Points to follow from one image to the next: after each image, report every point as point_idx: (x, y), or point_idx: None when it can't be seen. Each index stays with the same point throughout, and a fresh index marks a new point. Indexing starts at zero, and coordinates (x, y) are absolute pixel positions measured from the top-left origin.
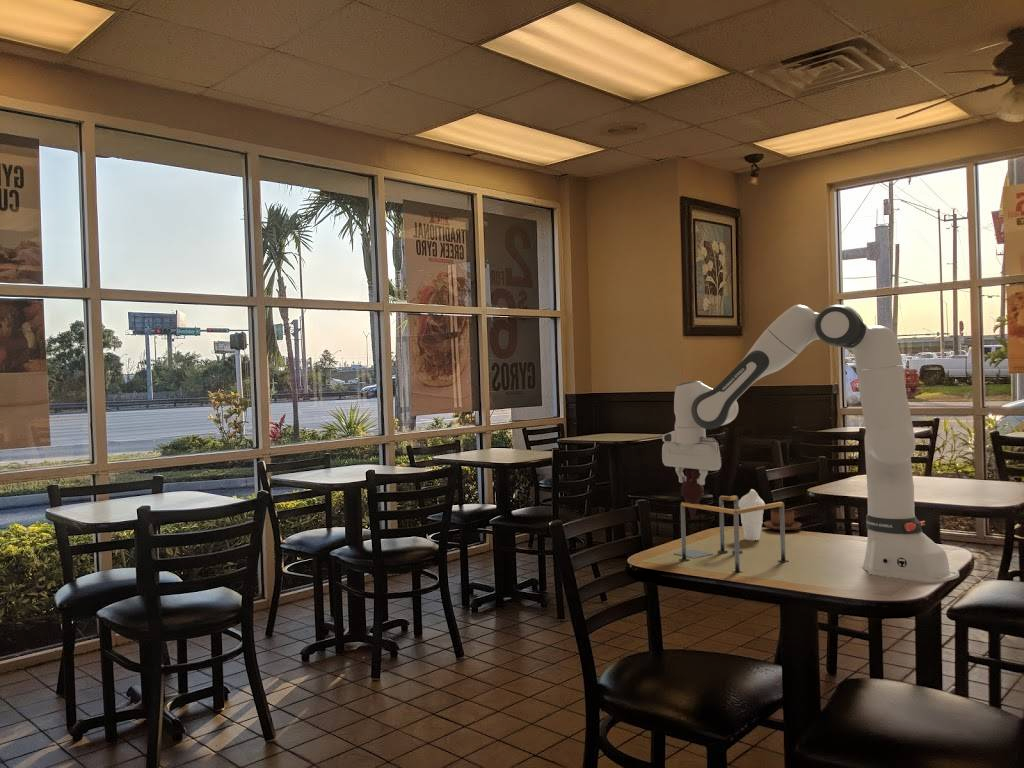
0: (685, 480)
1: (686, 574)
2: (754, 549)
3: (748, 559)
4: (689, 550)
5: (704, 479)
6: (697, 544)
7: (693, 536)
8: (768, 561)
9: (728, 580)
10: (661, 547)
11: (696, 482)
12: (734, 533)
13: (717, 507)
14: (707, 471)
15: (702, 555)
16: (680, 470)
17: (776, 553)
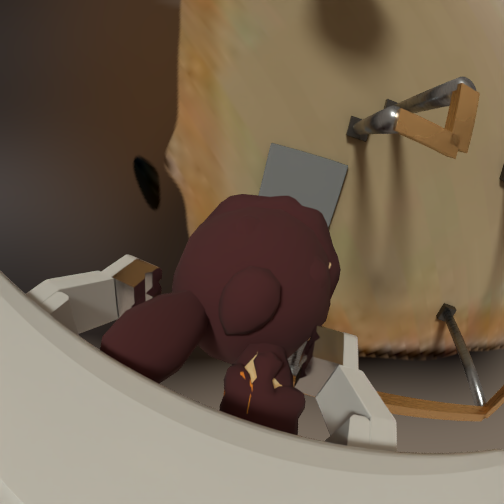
0: (152, 281)
1: (358, 348)
2: (403, 45)
3: (440, 166)
4: (271, 162)
5: (356, 366)
6: (239, 65)
7: (182, 6)
8: (481, 168)
9: (433, 348)
10: (184, 154)
11: (285, 348)
12: (466, 375)
13: (439, 415)
14: (393, 436)
15: (331, 201)
16: (75, 328)
17: (465, 72)
